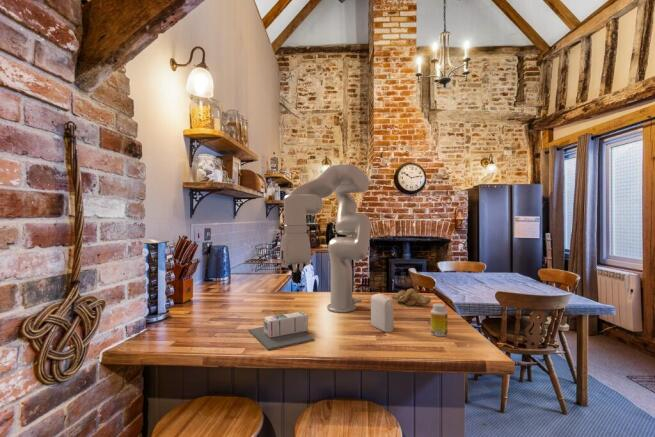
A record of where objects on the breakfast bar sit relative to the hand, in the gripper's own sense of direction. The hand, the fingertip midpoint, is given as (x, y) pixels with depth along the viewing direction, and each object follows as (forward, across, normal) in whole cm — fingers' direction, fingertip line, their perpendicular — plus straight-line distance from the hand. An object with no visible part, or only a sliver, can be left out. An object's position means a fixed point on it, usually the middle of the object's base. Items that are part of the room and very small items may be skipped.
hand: (296, 282), depth 119 cm
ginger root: (+20, -62, -9) cm, 66 cm away
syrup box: (+15, -4, -2) cm, 15 cm away
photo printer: (+19, -29, +11) cm, 36 cm away
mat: (+18, +6, -1) cm, 19 cm away
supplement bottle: (+19, -42, +26) cm, 53 cm away
